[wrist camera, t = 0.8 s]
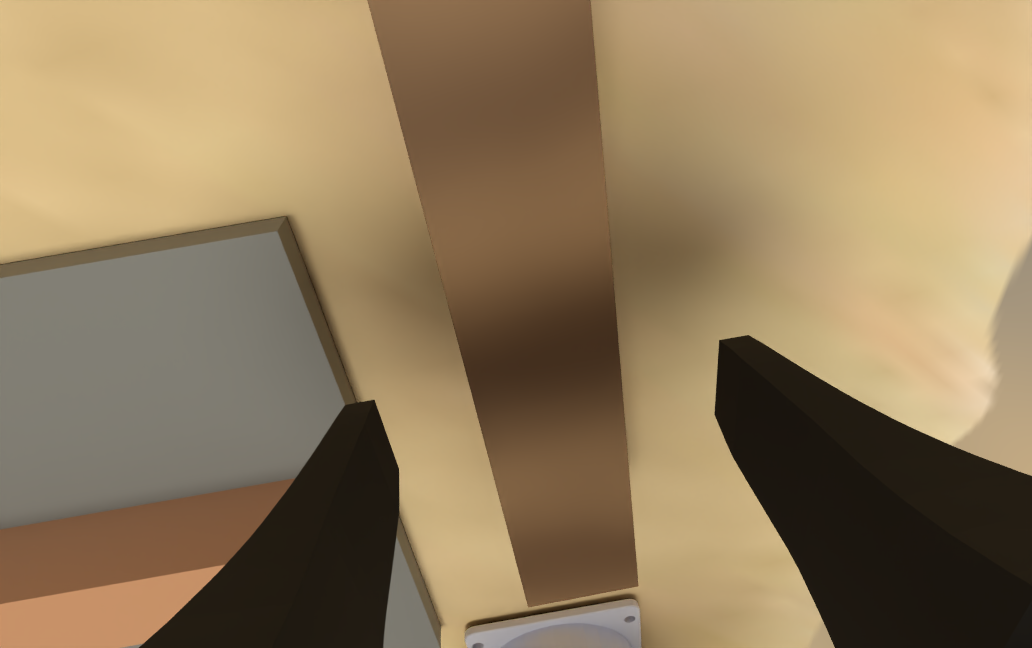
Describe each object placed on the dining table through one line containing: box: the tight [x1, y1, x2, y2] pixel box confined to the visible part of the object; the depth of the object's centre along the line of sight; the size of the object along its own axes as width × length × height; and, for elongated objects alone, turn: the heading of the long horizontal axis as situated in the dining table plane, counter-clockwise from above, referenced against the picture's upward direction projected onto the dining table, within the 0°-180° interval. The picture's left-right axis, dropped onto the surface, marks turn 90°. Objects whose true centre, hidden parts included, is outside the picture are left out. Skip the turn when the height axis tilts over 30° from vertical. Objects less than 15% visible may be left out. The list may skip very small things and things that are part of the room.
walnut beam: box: [368, 0, 638, 607], centre depth 16 cm, size 18×4×5 cm, turn 9°
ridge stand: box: [0, 216, 441, 648], centre depth 19 cm, size 20×22×4 cm
